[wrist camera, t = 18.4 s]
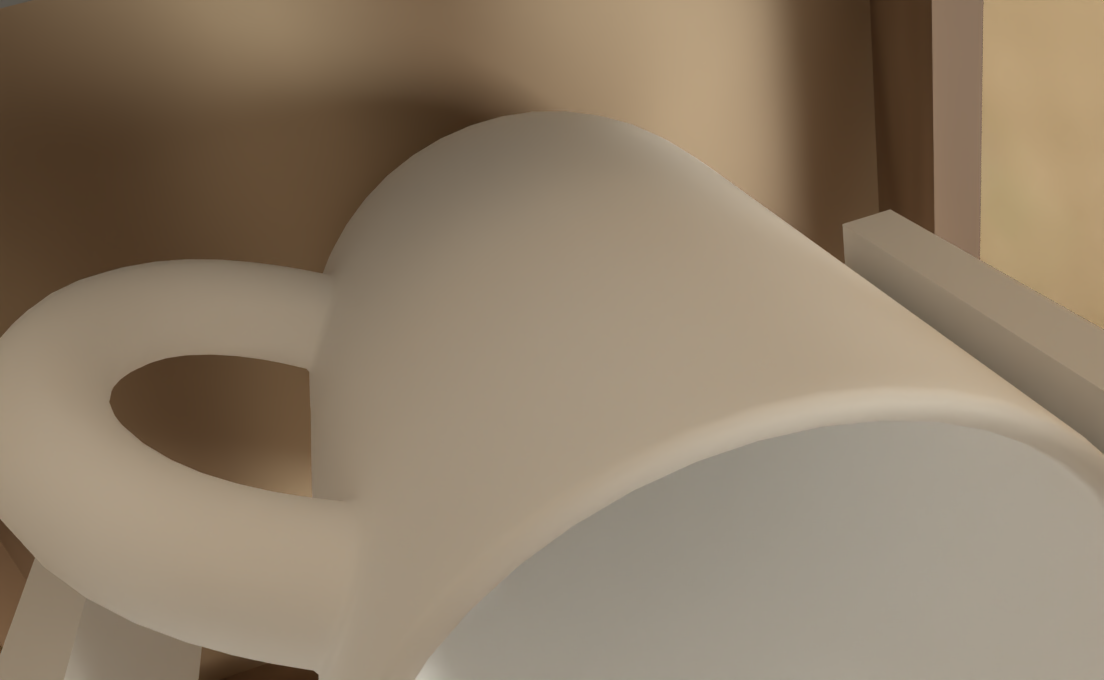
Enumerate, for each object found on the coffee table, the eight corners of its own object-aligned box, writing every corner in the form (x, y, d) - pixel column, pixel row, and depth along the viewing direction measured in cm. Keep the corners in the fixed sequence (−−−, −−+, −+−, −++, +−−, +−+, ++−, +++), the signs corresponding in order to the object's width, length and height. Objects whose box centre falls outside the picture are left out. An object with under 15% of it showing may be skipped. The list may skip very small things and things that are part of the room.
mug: (37, 427, 16) (-275, 1106, 7) (131, -60, 14) (-185, 83, 5) (642, 531, 21) (911, 1040, 12) (810, 177, 18) (1333, 492, 9)
